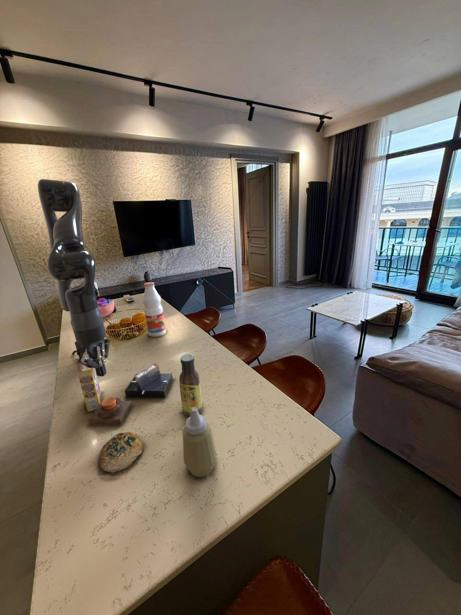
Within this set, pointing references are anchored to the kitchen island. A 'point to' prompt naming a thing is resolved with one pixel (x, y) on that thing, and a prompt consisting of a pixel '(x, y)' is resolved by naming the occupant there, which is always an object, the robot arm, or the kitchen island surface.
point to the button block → (111, 413)
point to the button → (109, 403)
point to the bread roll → (120, 452)
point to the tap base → (150, 388)
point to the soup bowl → (105, 306)
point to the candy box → (89, 387)
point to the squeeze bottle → (198, 445)
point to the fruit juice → (153, 311)
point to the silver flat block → (147, 376)
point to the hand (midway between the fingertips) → (102, 374)
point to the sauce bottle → (189, 385)
